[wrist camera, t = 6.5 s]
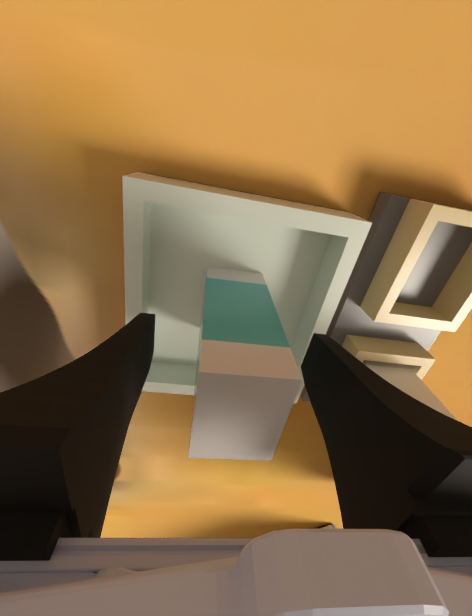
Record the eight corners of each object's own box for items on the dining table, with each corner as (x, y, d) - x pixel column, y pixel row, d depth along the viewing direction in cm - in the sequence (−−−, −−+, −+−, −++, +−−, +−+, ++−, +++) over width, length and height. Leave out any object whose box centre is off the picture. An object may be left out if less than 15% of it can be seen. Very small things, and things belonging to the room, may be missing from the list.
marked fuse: (248, 332, 17) (271, 460, 10) (199, 328, 16) (188, 457, 9) (262, 273, 15) (302, 379, 8) (207, 266, 14) (199, 371, 7)
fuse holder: (383, 397, 21) (402, 425, 19) (299, 389, 20) (309, 419, 18) (497, 216, 15) (548, 227, 12) (380, 191, 14) (412, 199, 11)
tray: (288, 376, 20) (296, 403, 18) (136, 362, 18) (126, 389, 16) (349, 212, 14) (372, 222, 12) (137, 171, 13) (122, 175, 10)
